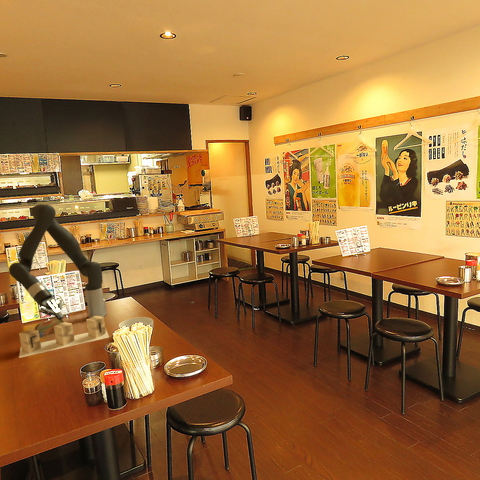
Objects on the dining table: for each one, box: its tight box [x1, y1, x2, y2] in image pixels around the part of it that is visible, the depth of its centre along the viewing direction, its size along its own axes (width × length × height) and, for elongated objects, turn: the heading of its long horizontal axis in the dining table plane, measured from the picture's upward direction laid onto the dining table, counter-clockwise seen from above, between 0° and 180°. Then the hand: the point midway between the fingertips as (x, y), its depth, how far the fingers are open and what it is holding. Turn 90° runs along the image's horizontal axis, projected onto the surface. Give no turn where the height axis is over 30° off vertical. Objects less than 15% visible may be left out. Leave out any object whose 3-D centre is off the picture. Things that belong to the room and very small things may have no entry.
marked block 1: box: [86, 316, 107, 338], centre depth 200 cm, size 6×6×9 cm
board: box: [18, 328, 110, 359], centre depth 195 cm, size 40×14×1 cm, turn 116°
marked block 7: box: [18, 328, 41, 353], centre depth 187 cm, size 6×6×9 cm
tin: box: [34, 317, 65, 339], centre depth 207 cm, size 15×3×8 cm, turn 143°
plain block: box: [54, 321, 75, 345], centre depth 194 cm, size 6×6×9 cm
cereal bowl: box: [118, 316, 154, 330], centre depth 198 cm, size 17×17×7 cm
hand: (62, 318), depth 193 cm, fingers closed
